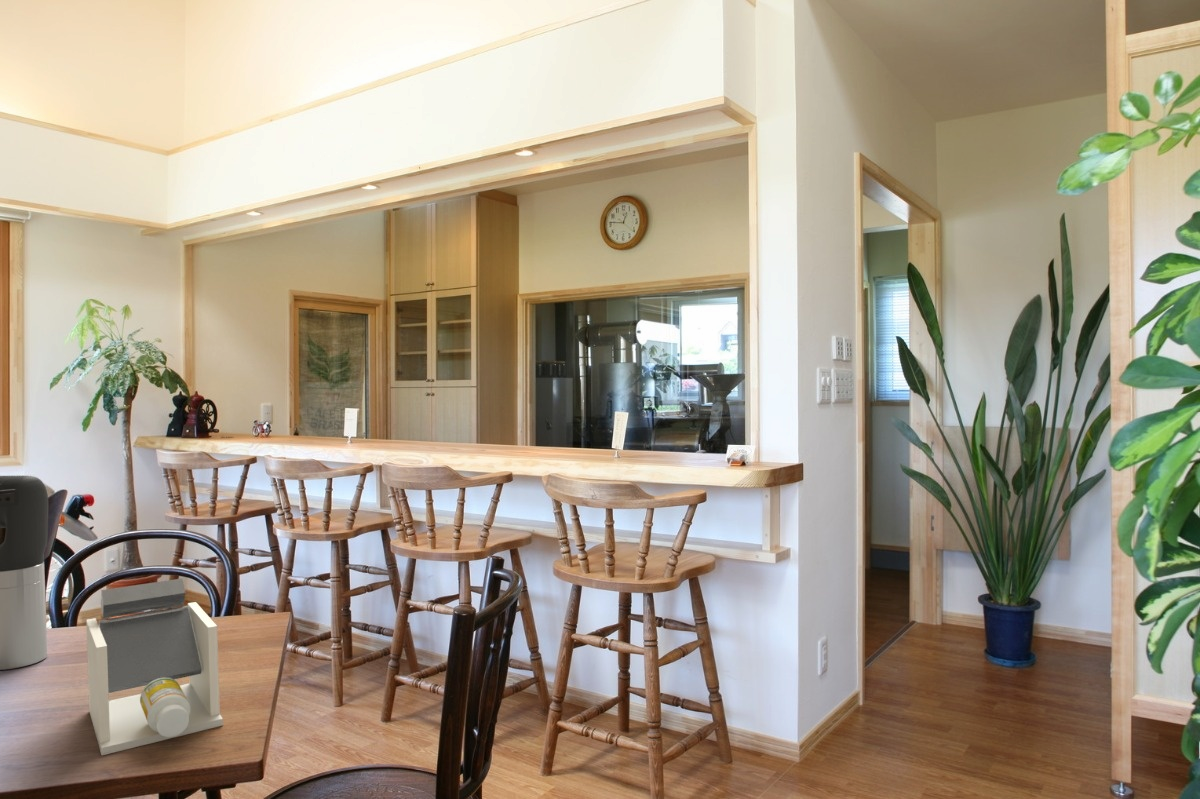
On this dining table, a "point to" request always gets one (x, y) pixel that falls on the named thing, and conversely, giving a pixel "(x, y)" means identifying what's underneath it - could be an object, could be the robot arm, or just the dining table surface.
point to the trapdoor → (147, 634)
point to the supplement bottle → (165, 707)
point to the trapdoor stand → (124, 717)
